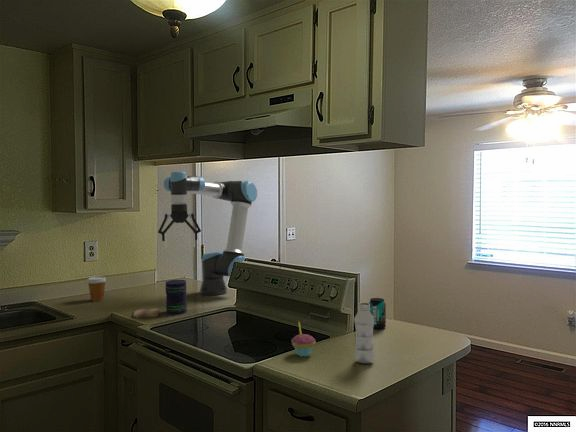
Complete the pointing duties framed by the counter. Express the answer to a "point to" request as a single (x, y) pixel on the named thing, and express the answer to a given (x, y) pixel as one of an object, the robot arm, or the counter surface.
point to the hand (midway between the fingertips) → (180, 247)
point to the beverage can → (378, 312)
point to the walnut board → (146, 313)
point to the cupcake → (303, 343)
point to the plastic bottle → (364, 334)
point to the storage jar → (176, 297)
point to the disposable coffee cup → (96, 288)
